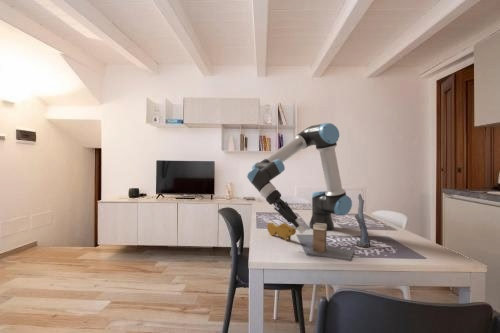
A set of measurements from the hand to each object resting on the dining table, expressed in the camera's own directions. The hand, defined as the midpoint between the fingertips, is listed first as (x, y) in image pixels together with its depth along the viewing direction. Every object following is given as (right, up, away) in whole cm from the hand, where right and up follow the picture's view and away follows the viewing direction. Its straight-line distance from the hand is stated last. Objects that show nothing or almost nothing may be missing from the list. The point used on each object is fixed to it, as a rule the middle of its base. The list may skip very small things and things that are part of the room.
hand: (303, 231), depth 130 cm
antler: (+31, -9, +9) cm, 34 cm away
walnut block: (+7, -8, -3) cm, 11 cm away
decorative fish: (-9, -9, +20) cm, 24 cm away
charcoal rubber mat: (+12, -9, -4) cm, 15 cm away
